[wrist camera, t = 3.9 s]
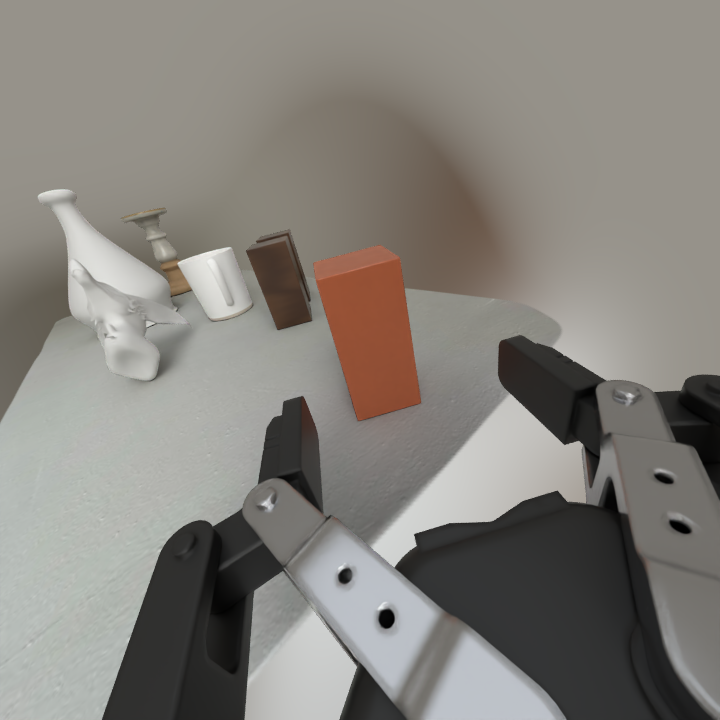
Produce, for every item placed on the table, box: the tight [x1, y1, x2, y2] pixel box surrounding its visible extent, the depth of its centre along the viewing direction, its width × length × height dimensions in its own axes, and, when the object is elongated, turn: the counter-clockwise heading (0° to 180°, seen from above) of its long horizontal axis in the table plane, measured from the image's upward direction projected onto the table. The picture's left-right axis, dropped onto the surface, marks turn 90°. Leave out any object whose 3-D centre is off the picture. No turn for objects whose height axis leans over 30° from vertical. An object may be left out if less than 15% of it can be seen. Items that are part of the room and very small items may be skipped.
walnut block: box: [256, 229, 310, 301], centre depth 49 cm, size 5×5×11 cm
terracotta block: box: [313, 245, 421, 421], centre depth 22 cm, size 5×5×11 cm
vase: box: [38, 189, 178, 340], centre depth 57 cm, size 17×17×25 cm
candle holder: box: [121, 208, 192, 296], centre depth 80 cm, size 12×12×20 cm
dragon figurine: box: [69, 259, 191, 381], centre depth 37 cm, size 12×18×13 cm
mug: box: [177, 247, 253, 321], centre depth 51 cm, size 11×9×10 cm
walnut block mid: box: [246, 236, 312, 330], centre depth 41 cm, size 5×5×11 cm
